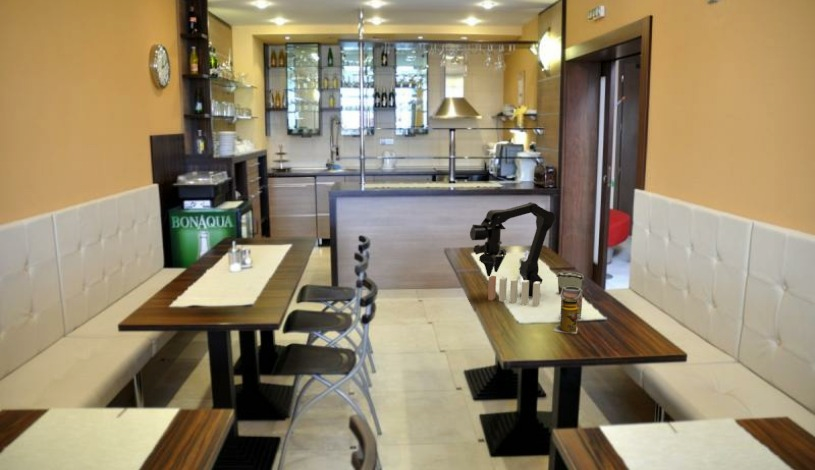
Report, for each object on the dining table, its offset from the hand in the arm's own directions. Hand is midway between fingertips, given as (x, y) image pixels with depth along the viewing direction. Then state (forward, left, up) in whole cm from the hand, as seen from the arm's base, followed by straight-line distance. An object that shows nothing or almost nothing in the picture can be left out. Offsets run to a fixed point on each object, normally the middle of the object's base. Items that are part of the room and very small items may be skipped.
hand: (492, 274), depth 273 cm
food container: (-29, -25, -12) cm, 40 cm away
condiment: (-39, +26, -12) cm, 48 cm away
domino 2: (-5, 0, -11) cm, 12 cm away
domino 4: (-15, 0, -11) cm, 19 cm away
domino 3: (-10, 0, -11) cm, 15 cm away
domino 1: (0, 0, -11) cm, 11 cm away
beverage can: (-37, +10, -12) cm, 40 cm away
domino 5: (-20, 0, -11) cm, 23 cm away
